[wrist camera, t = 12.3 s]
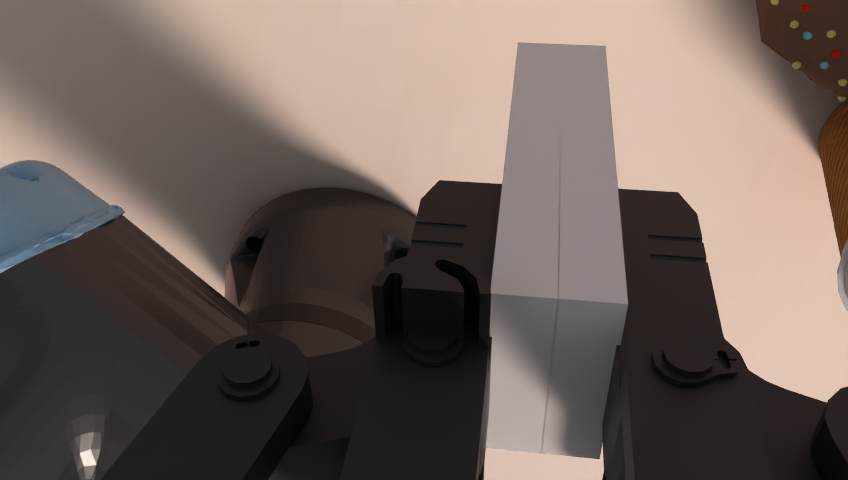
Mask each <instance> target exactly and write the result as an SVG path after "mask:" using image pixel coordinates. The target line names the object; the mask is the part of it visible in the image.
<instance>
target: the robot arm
mask: <svg viewBox="0 0 848 480" xmlns="http://www.w3.org/2000/svg"><path fill="white" fill-rule="evenodd" d="M124 213H125V211H124V210H123V209H122V208H121V207H119V206H114V205H109V204H108V203H106V202H105V201H104V200H102V199H101V198H99V197H98V196H97V195H95V194H94V193H92V192H91V191H90V190H88V189H87V188H86V187H84V186H83V185H82V184H80V183H79V182H78V181H76V180H75V179H73V178H72V177H71V176H69V175H68V174H67V173H65V172H64V171H63V170H61V169H59V168H58V167H56V166H54V165H52V164H49V163H46V162H42V161H35V160H26V161H19V162H15V163H12V164H9V165H6V166H4V167H2V168H0V480H484V460H485V449H486V448H495V449H505V450H515V451H525V452H535V453H545V454H554V455H564V456H574V457H584V458H594V459H600V453H601V448H602V443H603V458H604V474H603V479H602V480H848V387H844V388H841V389H840V390H839V391H838V392H837V393H835V394H834V395H833V396H832V397H831V398H830V399H829V400H828V402H827V403H826V402H823V401H820V400H817V399H814V398H811V397H808V396H805V395H802V394H799V393H795V392H792V391H789V390H786V389H784V388H781V387H779V386H777V385H774V384H772V383H769V382H767V381H765V380H764V379H762V378H760V377H759V376H757V375H755V374H754V373H752V372H751V371H749V370H748V368H747V366H746V364H745V362H744V360H743V358H742V356H741V354H740V352H738V351H737V350H736V349H735V348H734V347H733V346H732V345H731V344H730V343H729V342H727V341H726V340H725V339H724V336H723V332H722V328H721V323H720V318H719V314H718V309H717V304H716V300H715V295H714V290H713V286H712V281H711V276H710V272H709V267H708V263H706V253H705V248H704V244H703V243H702V234H701V230H700V225H699V220H698V216H697V213H696V212H695V211H694V210H693V209H692V208H691V207H690V205H689V204H688V203H687V202H686V201H685V200H684V199H683V197H682V196H681V195H680V194H679V193H678V192H663V191H646V190H630V189H618V183H617V172H616V161H615V149H614V138H613V127H612V115H611V104H610V92H609V81H608V70H607V58H606V47H605V46H592V45H566V44H540V43H518V48H517V57H516V66H515V75H514V84H513V93H512V102H511V111H510V120H509V129H508V138H507V147H506V156H505V165H504V174H503V183H502V184H491V183H475V182H458V181H442V180H439V181H438V182H437V183H436V184H435V185H434V186H433V187H432V188H431V189H430V190H429V191H428V192H427V193H426V195H425V196H424V197H423V198H422V199H421V201H420V205H419V209H418V213H417V218H415V217H414V216H412V215H411V214H409V213H408V212H406V211H405V210H403V209H401V208H400V207H398V206H396V205H394V204H392V203H390V202H388V201H385V200H383V199H380V198H378V197H375V196H372V195H368V194H365V193H361V192H357V191H351V190H345V189H335V188H318V189H308V190H302V191H298V192H293V193H290V194H287V195H284V196H282V197H279V198H277V199H275V200H273V201H271V202H269V203H268V204H266V205H265V206H263V207H262V208H261V209H259V210H258V211H257V212H256V213H255V214H254V215H253V216H252V217H251V218H250V219H249V221H248V222H247V223H246V225H245V226H244V228H243V230H242V232H241V234H240V236H239V238H238V239H237V241H236V243H235V245H234V247H233V249H232V252H231V254H230V257H229V260H228V264H227V269H226V278H225V298H224V297H223V296H222V295H221V294H219V293H218V292H217V291H216V290H214V289H213V288H212V287H211V286H209V285H208V284H207V283H206V282H205V281H203V280H202V279H201V278H200V277H198V276H197V275H196V274H195V273H193V272H192V271H191V270H190V269H189V268H187V267H186V266H185V265H184V264H182V263H181V262H180V261H179V260H177V259H176V258H175V257H174V256H172V255H171V254H170V253H169V252H168V251H166V250H165V249H164V248H163V247H161V246H160V245H159V244H158V243H156V242H155V241H154V240H153V239H152V238H150V237H149V236H148V235H147V234H145V233H144V232H143V231H142V230H140V229H139V228H138V227H137V226H135V225H134V224H133V223H132V222H131V221H129V220H128V219H127V218H126V217H124V216H123V215H122V214H124Z"/></svg>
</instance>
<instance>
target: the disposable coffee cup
mask: <svg viewBox="0 0 848 480" xmlns="http://www.w3.org/2000/svg"><path fill="white" fill-rule="evenodd" d="M819 153H820V158H821V162H822V167H823V172H824V177H825V182H826V187H827V192H828V197H829V202H830V207H831V212H832V217H833V221H834V228H835V232H836V237H837V241H838V246H839V251H840V256H841V260H840V263H839V267H838V270H837V273H838V290H839V295H840V297H841V299H842V302H843V304H844V306H845V308H846V310H847V311H848V102H847V101H845V102H844V103H842V104H841V105H840V106H839V107H838V108H837V109H836V110H835V111H834V112H833V113H832V114H831V116H830V117H829V118H828V120H827V121H826V123H825V125H824V127H823V129H822V132H821V135H820V138H819Z"/></svg>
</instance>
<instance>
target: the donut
mask: <svg viewBox="0 0 848 480" xmlns="http://www.w3.org/2000/svg"><path fill="white" fill-rule="evenodd" d="M756 3H757V11H758V18H759V26H760V33H761V41H762V42H763V43H764V44H766V45H767V46H768V47H770V48H771V49H772V50H774V51H775V52H776V53H778V54H779V55H781V56H782V57H783V58H785V59H786V60H788V61H789V62H791V63H792V67H793V68H794V69H801V70H802V71H803V72H804V73H805V74H806V75H807V76H808V77H809V78H810V79H811V80H812V81H814V82H816V83H817V84H819V85H821V86H822V87H824V88H825V89H829V90H832V91H834V92H835V93H837V94H838V95H839V96H838V100H839V101H841V102H844V101H845V100H846V101H847V102H848V0H756Z"/></svg>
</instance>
